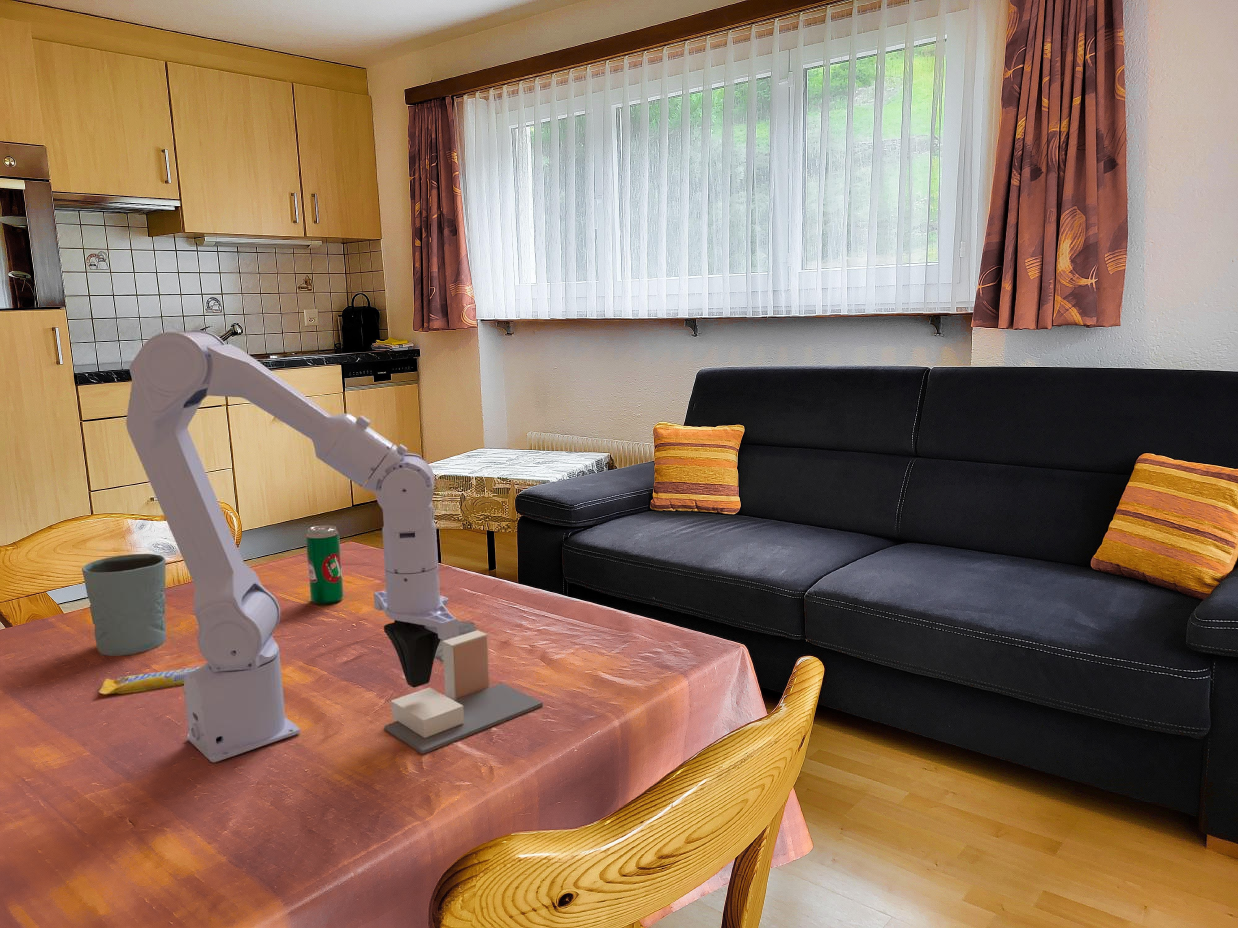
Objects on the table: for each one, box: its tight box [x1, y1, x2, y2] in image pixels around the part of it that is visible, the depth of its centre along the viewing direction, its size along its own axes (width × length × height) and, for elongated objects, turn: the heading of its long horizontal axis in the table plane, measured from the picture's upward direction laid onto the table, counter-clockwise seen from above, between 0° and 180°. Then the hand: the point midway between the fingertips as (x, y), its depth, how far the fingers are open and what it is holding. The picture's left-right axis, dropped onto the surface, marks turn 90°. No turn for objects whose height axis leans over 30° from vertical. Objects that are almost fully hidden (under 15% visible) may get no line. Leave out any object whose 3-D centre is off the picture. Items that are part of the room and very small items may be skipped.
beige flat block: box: [390, 687, 464, 738], centre depth 99 cm, size 5×2×7 cm
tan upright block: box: [443, 629, 491, 700], centre depth 106 cm, size 5×2×7 cm, turn 134°
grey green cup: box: [81, 553, 167, 657], centre depth 124 cm, size 10×10×12 cm
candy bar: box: [98, 665, 203, 695], centre depth 112 cm, size 17×4×2 cm, turn 111°
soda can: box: [305, 524, 344, 606], centre depth 142 cm, size 5×5×12 cm
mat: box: [383, 682, 544, 755], centre depth 100 cm, size 16×8×1 cm, turn 134°
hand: (418, 683), depth 99 cm, fingers closed
